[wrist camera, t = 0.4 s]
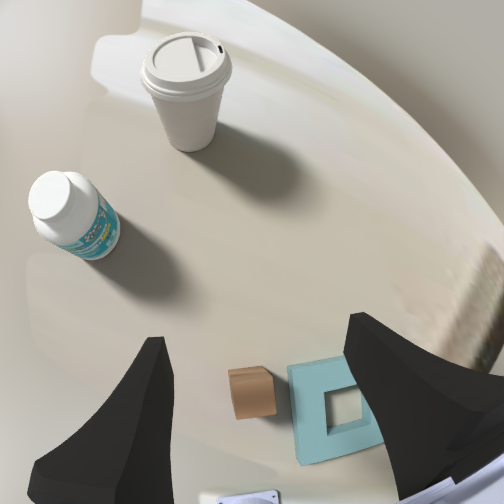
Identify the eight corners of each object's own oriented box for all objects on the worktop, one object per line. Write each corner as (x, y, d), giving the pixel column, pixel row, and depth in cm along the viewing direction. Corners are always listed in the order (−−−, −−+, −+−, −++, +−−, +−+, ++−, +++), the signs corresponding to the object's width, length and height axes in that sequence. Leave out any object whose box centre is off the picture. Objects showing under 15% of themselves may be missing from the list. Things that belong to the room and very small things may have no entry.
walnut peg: (265, 396, 35) (276, 414, 28) (232, 401, 34) (236, 419, 28) (261, 365, 36) (272, 376, 29) (228, 369, 35) (231, 382, 28)
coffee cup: (219, 166, 40) (224, 93, 25) (148, 158, 39) (123, 86, 24) (230, 109, 42) (240, 32, 27) (166, 102, 41) (154, 26, 26)
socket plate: (385, 433, 35) (393, 438, 33) (296, 458, 34) (301, 466, 31) (381, 346, 38) (390, 348, 35) (286, 366, 36) (291, 369, 34)
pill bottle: (85, 272, 35) (30, 251, 22) (62, 225, 36) (8, 188, 23) (132, 240, 37) (95, 202, 24) (107, 193, 37) (67, 142, 24)
